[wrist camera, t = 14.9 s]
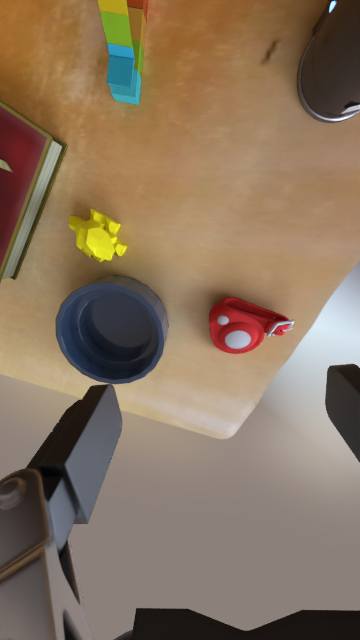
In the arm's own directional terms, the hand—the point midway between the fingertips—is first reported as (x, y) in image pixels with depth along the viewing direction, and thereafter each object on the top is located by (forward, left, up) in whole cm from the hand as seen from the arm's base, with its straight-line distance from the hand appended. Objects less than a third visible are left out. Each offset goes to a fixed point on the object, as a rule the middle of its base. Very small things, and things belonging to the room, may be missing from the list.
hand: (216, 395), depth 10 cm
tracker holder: (+10, +6, -30) cm, 32 cm away
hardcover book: (-14, -27, -30) cm, 43 cm away
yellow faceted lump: (-7, -14, -30) cm, 34 cm away
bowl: (+7, -14, -30) cm, 34 cm away
